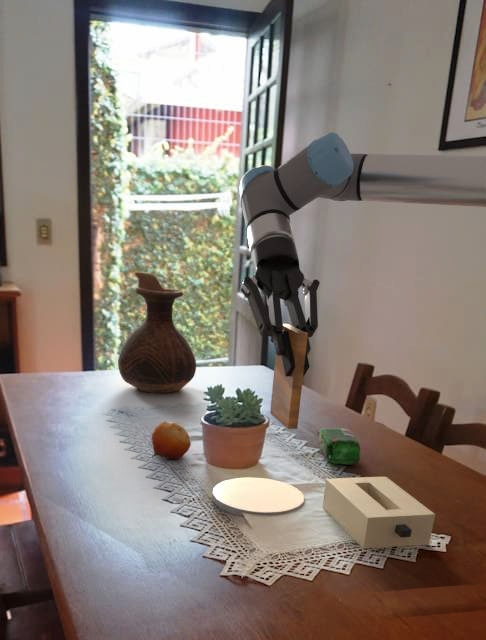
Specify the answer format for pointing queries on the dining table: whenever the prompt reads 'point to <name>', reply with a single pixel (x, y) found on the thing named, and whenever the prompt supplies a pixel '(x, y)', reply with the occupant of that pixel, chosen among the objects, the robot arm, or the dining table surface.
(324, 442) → the snack package
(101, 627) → the dining table surface
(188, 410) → the dining table surface
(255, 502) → the plate
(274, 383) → the toast
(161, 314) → the jug
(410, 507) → the toaster
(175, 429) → the fruit
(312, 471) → the dining table surface
